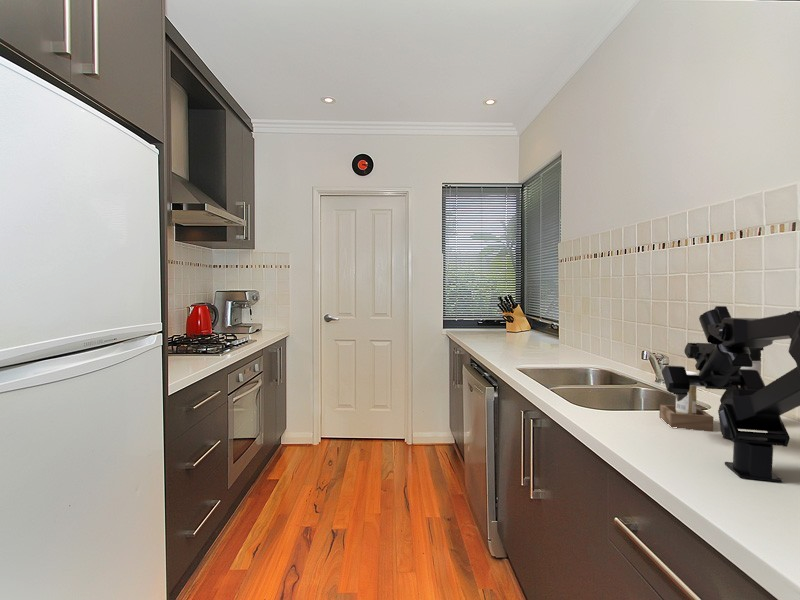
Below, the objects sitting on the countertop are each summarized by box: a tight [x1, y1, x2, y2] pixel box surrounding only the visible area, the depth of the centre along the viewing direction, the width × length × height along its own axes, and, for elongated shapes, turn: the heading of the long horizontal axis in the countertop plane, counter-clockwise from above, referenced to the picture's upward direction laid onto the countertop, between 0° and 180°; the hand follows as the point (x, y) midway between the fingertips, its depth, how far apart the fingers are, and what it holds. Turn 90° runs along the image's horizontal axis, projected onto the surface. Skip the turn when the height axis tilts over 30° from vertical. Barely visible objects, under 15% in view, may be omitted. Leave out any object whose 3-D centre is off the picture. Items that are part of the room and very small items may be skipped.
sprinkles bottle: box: [675, 370, 699, 415], centre depth 109 cm, size 5×5×13 cm
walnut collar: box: [659, 404, 714, 432], centre depth 110 cm, size 9×9×4 cm
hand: (699, 400), depth 102 cm, fingers open, 9 cm apart
